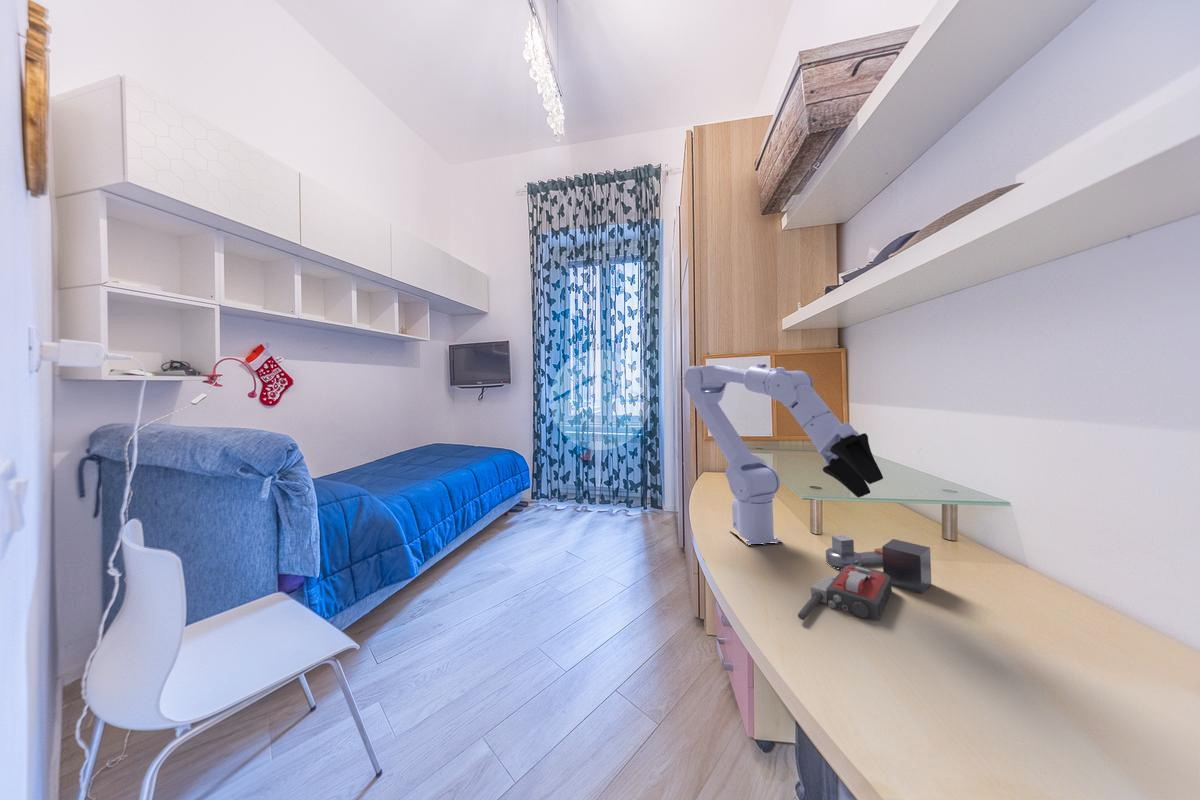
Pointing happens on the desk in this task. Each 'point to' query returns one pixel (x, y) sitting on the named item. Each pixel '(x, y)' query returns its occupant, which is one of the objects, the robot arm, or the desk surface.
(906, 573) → the dark grey block
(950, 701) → the desk surface
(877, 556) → the ratchet
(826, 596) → the walkie-talkie
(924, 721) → the desk surface
